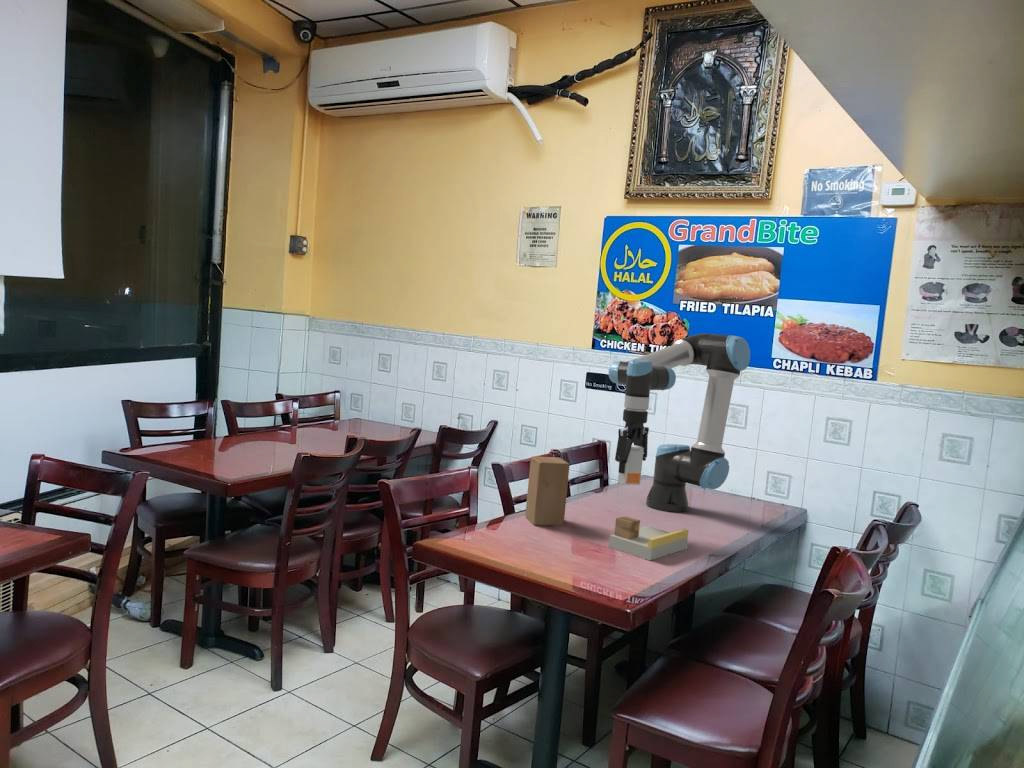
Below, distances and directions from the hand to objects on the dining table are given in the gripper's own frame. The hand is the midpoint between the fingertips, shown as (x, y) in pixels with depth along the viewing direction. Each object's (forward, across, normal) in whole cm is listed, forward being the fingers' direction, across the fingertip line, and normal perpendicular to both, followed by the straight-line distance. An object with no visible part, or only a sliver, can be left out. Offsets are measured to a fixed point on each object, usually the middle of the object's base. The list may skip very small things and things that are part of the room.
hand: (629, 481), depth 238 cm
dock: (+16, +10, +15) cm, 24 cm away
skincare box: (+1, 0, 0) cm, 1 cm away
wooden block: (+16, +16, -20) cm, 30 cm away
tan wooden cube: (+12, +16, +11) cm, 23 cm away
